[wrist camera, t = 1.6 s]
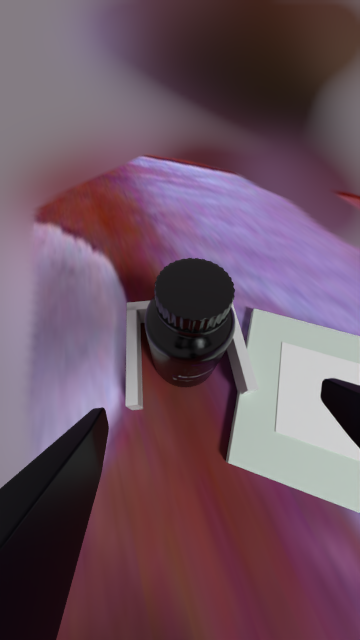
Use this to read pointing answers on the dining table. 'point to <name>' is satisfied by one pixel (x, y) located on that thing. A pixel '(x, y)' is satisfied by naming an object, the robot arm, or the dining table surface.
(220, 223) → the dining table surface
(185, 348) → the supplement bottle
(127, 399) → the holster
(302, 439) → the docking plate
